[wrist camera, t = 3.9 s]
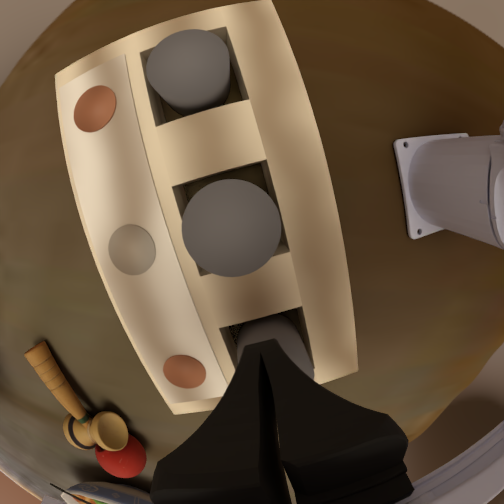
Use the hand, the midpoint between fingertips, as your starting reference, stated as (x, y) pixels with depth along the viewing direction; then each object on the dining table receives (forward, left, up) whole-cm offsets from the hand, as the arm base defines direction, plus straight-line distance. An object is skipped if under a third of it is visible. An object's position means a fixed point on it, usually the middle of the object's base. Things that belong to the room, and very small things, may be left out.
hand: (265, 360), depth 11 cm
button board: (+1, -5, -9) cm, 11 cm away
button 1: (0, -14, -9) cm, 17 cm away
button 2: (0, -5, -7) cm, 9 cm away
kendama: (+21, +10, -10) cm, 25 cm away
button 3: (0, +4, -7) cm, 8 cm away
